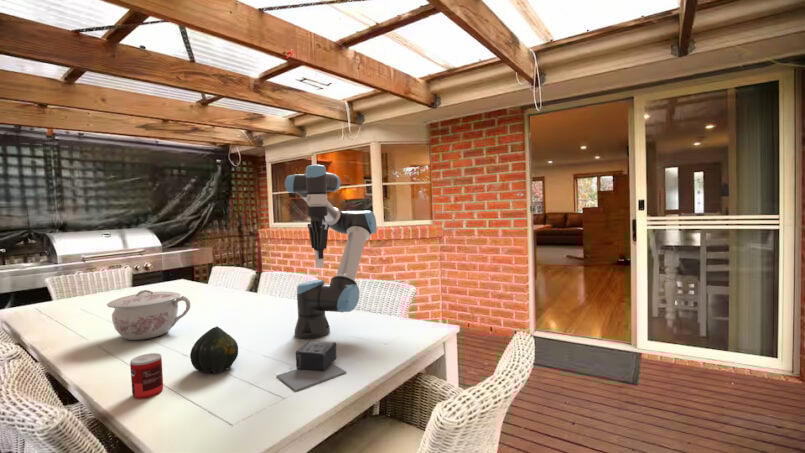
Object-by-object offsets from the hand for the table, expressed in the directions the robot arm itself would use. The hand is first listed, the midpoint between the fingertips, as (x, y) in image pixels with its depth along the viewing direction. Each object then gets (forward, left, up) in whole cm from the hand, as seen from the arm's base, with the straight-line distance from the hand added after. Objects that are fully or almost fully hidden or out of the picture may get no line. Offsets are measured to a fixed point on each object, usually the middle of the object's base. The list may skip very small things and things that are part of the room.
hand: (319, 266), depth 143 cm
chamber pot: (-73, -48, -33) cm, 93 cm away
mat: (+18, -14, -32) cm, 39 cm away
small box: (+8, -12, -29) cm, 32 cm away
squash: (-11, -36, -33) cm, 50 cm away
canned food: (-7, -56, -33) cm, 65 cm away
